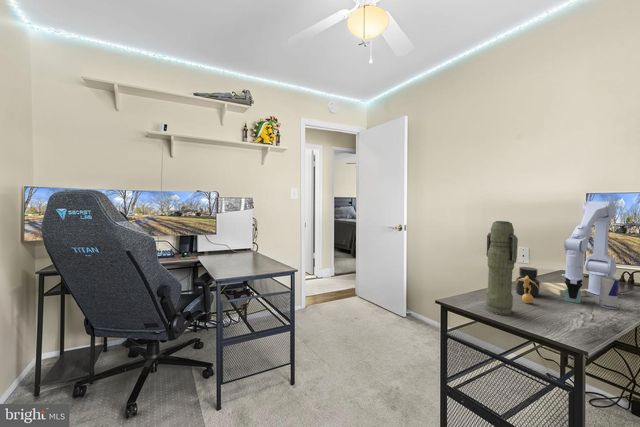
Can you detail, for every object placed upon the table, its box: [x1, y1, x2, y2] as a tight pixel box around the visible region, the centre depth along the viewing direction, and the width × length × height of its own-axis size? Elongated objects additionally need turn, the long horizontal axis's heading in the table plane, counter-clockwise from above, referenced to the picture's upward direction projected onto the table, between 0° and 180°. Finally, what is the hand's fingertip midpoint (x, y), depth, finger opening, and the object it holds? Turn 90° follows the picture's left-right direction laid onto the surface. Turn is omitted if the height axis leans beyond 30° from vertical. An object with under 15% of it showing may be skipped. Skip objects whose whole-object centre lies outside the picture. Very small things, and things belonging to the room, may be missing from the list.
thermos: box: [485, 220, 518, 316], centre depth 113 cm, size 9×12×35 cm
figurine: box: [515, 276, 540, 304], centre depth 122 cm, size 8×6×12 cm
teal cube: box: [564, 287, 582, 304], centre depth 126 cm, size 5×5×5 cm
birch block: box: [540, 282, 588, 297], centre depth 139 cm, size 12×12×3 cm
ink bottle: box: [515, 266, 541, 298], centre depth 134 cm, size 10×9×12 cm
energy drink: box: [598, 277, 620, 310], centre depth 119 cm, size 5×5×12 cm
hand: (572, 296), depth 126 cm, fingers closed on teal cube, 5 cm apart
